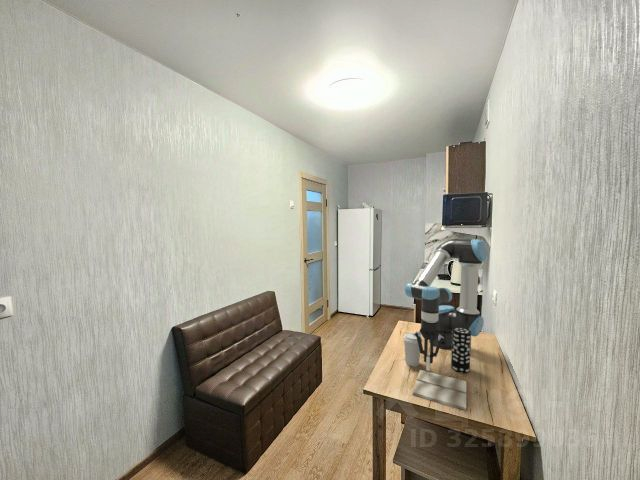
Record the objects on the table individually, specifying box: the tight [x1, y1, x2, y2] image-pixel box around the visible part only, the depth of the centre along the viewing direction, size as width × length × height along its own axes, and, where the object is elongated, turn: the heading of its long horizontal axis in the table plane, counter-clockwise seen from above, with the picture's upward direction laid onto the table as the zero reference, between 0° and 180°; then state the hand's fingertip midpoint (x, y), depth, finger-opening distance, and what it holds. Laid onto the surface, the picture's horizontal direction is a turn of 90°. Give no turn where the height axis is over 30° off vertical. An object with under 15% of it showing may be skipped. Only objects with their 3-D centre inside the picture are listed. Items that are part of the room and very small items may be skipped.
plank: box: [416, 369, 467, 395], centre depth 123 cm, size 20×9×1 cm, turn 61°
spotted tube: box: [450, 327, 472, 374], centre depth 135 cm, size 8×8×20 cm
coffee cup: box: [402, 332, 424, 367], centre depth 140 cm, size 10×10×15 cm
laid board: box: [412, 380, 467, 412], centre depth 114 cm, size 20×10×1 cm, turn 61°
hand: (428, 369), depth 128 cm, fingers closed
